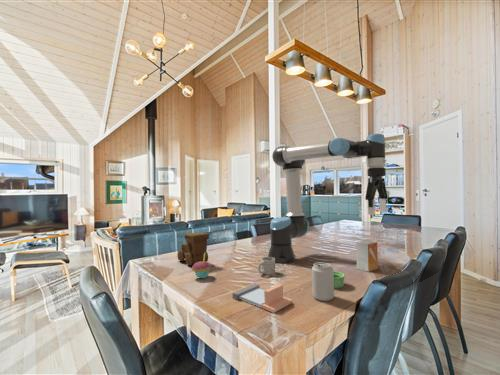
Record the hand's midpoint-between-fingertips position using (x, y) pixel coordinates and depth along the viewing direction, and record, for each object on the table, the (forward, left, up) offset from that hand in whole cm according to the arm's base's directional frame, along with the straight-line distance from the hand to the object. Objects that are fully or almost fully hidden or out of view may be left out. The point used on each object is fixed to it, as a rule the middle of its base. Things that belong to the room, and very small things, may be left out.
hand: (377, 213), depth 117 cm
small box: (-6, +2, -28) cm, 28 cm away
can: (-6, -42, -28) cm, 50 cm away
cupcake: (-58, -58, -28) cm, 86 cm away
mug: (-39, -35, -28) cm, 59 cm away
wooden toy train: (-82, -47, -28) cm, 98 cm away
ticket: (-24, -58, -27) cm, 68 cm away
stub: (-14, -58, -27) cm, 65 cm away
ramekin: (-9, -28, -28) cm, 40 cm away
